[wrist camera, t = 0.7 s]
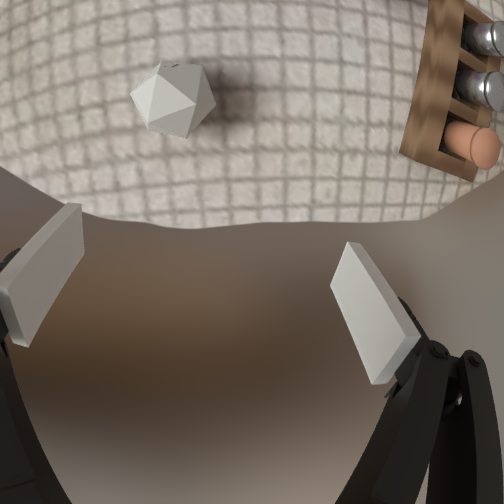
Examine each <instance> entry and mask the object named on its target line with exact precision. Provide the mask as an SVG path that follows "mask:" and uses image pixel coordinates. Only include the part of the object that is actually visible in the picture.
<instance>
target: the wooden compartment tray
mask: <svg viewBox="0 0 504 504" xmlns="http://www.w3.org/2000/svg"><path fill="white" fill-rule="evenodd" d="M482 23H493V21H492V20H491V19H490V18H488V17H487V16H486V15H484V14H483V13H482V12H481V11H479V10H478V9H477V8H475V7H474V6H472V5H471V4H470V3H468V2H467V1H465V0H429V6H428V14H427V22H426V30H425V36H424V43H423V49H422V55H421V60H420V66H419V71H418V76H417V81H416V86H415V91H414V95H413V100H412V104H411V108H410V113H409V117H408V121H407V125H406V129H405V132H404V136H403V140H402V144H401V147H400V151H399V153H401V154H403V155H405V156H407V157H409V158H411V159H413V160H415V161H416V162H419V163H422V164H425V165H428V166H431V167H433V168H436V169H439V170H442V171H444V172H447V173H449V174H452V175H455V176H457V177H460V178H462V179H465V180H467V181H470V182H472V183H473V180H474V177H475V174H476V171H477V168H478V167H477V166H476V165H475V164H474V163H473V162H472V161H470V160H468V159H466V158H464V157H462V156H460V155H457V154H455V153H453V152H451V151H450V150H448V149H447V153H445V152H442V151H440V150H438V149H439V145H440V141H441V138H442V134H443V130H444V126H445V122H446V118H447V115H449V116H451V117H453V118H455V120H458V121H461V122H465V123H468V124H471V125H474V126H477V127H480V128H481V127H486V128H489V124H490V119H491V115H492V109H491V108H489V107H485V106H481V105H477V104H473V103H469V102H466V101H464V100H463V99H462V98H461V97H460V101H457V100H455V99H454V98H452V97H451V96H452V91H453V86H454V81H455V76H456V70H458V71H460V72H461V71H463V70H470V71H479V72H487V73H489V72H491V71H496V72H499V70H500V62H501V56H489V55H476V54H474V53H472V52H471V51H470V50H468V52H467V51H465V50H464V49H462V48H461V47H460V44H461V36H462V28H463V29H464V28H465V26H466V25H468V24H482Z"/></svg>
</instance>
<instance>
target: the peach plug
mask: <svg viewBox="0 0 504 504" xmlns="http://www.w3.org/2000/svg"><path fill="white" fill-rule="evenodd" d="M444 141H445V145H446V147H447V148H448V150H450V151H451V152H453V153H455V154H457V155H460V156H462V157H464V158H466V159H468V160H470V161H472V162H473V163H474V164H475V165H476V166H477V167H479V168H481V169H484V170H487V169H490V168H492V167H493V166H494V165H495V163H496V162H497V160H498V157H499V153H500V141H499V138H498V136H497V134H496V132H495V131H493V130H492V129H489V128H486V127H481V128H480V127H477V126H474V125H471V124H468V123H465V122H461V121H458V120H454V121H451V122H450V123H449V124H448V125H447V127H446V129H445V132H444Z"/></svg>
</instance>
